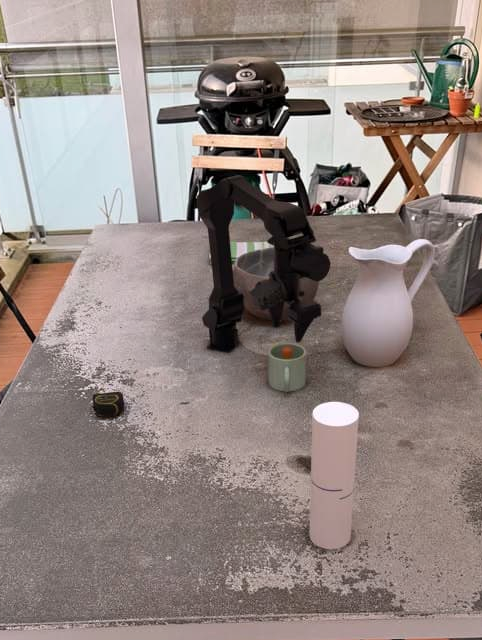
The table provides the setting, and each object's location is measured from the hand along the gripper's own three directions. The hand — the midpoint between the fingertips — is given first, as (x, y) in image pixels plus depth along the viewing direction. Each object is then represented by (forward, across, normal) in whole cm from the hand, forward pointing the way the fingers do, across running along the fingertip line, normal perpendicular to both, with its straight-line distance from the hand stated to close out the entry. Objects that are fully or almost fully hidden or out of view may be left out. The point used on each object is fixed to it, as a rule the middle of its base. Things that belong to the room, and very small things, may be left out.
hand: (287, 334), depth 166 cm
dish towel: (+12, -79, +34) cm, 87 cm away
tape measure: (+12, -11, -41) cm, 44 cm away
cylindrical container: (+12, +50, -23) cm, 56 cm away
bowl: (+12, -35, +18) cm, 42 cm away
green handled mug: (+12, +1, -1) cm, 12 cm away
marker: (+12, 0, 0) cm, 12 cm away
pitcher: (+12, +1, +28) cm, 31 cm away
